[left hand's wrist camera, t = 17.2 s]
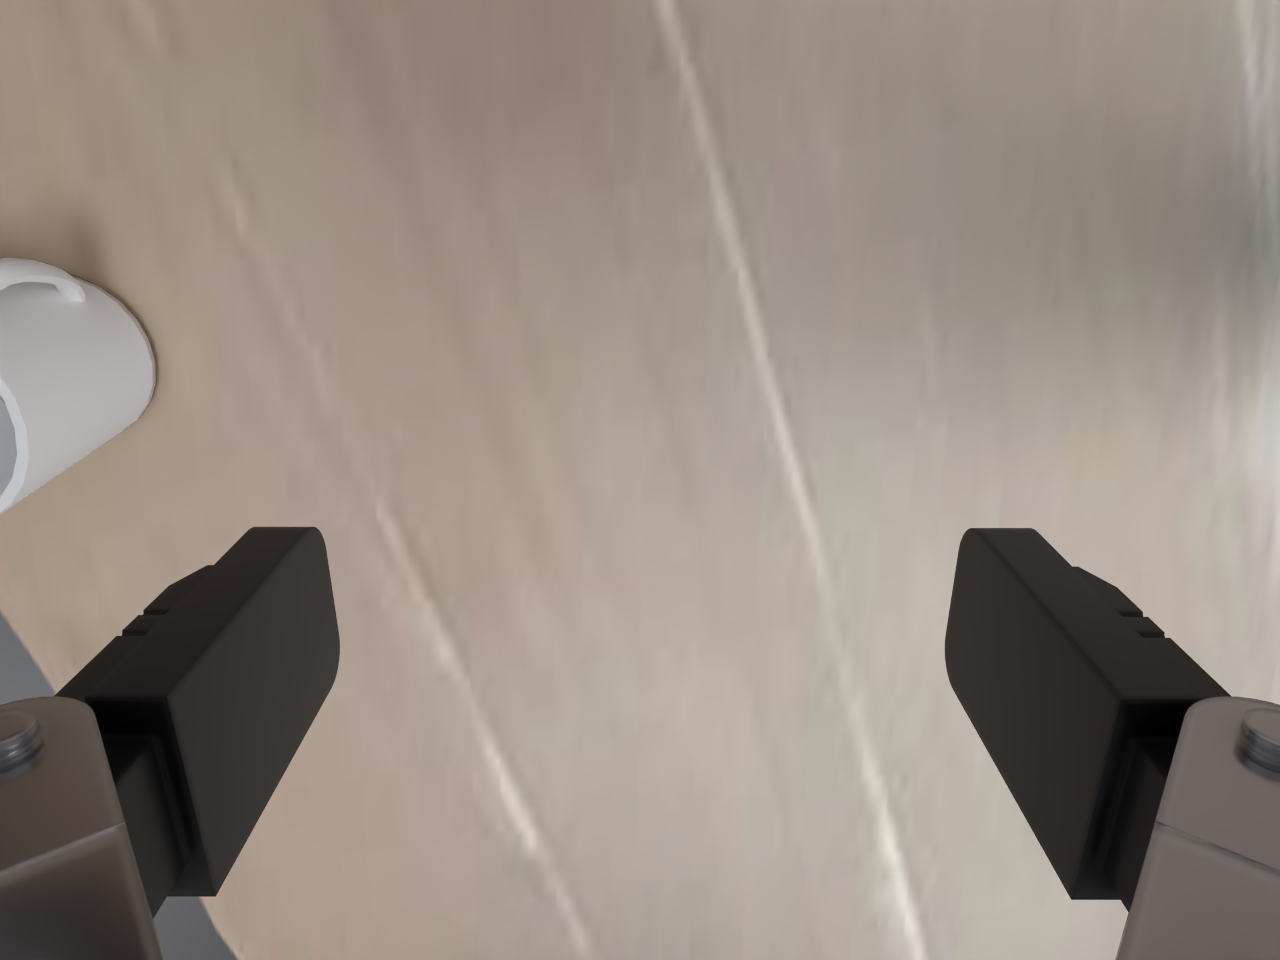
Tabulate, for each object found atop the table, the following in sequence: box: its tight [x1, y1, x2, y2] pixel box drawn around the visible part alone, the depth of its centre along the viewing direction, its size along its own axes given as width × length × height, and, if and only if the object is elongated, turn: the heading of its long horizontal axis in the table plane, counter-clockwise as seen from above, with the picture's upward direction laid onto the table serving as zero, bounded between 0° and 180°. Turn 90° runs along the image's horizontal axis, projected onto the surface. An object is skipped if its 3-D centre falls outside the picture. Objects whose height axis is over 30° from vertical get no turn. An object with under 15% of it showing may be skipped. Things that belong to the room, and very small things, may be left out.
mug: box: [0, 258, 156, 514], centre depth 37 cm, size 11×9×10 cm
